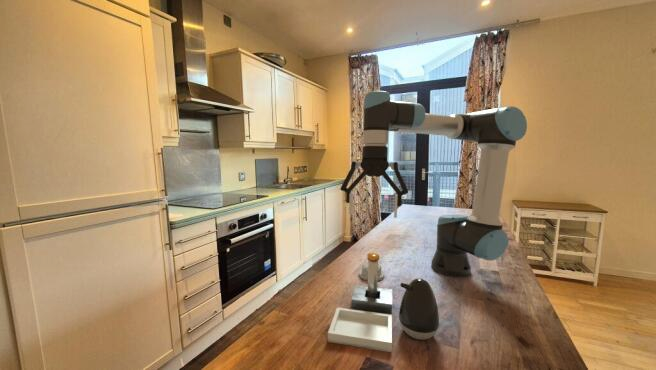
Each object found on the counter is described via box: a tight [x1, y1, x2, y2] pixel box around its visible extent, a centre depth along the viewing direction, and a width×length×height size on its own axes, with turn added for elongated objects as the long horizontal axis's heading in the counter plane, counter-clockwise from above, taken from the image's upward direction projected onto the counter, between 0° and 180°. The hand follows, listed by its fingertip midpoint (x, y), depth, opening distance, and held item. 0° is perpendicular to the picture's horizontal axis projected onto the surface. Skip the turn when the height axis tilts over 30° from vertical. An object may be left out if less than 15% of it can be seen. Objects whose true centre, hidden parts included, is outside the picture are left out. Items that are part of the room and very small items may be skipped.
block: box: [350, 285, 393, 316], centre depth 85 cm, size 12×9×4 cm
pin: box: [367, 252, 380, 299], centre depth 85 cm, size 4×4×17 cm
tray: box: [327, 306, 393, 353], centre depth 74 cm, size 16×12×2 cm
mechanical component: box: [358, 262, 385, 282], centre depth 108 cm, size 10×4×10 cm
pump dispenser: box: [398, 278, 440, 341], centre depth 73 cm, size 10×10×15 cm
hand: (372, 215), depth 84 cm, fingers open, 13 cm apart
